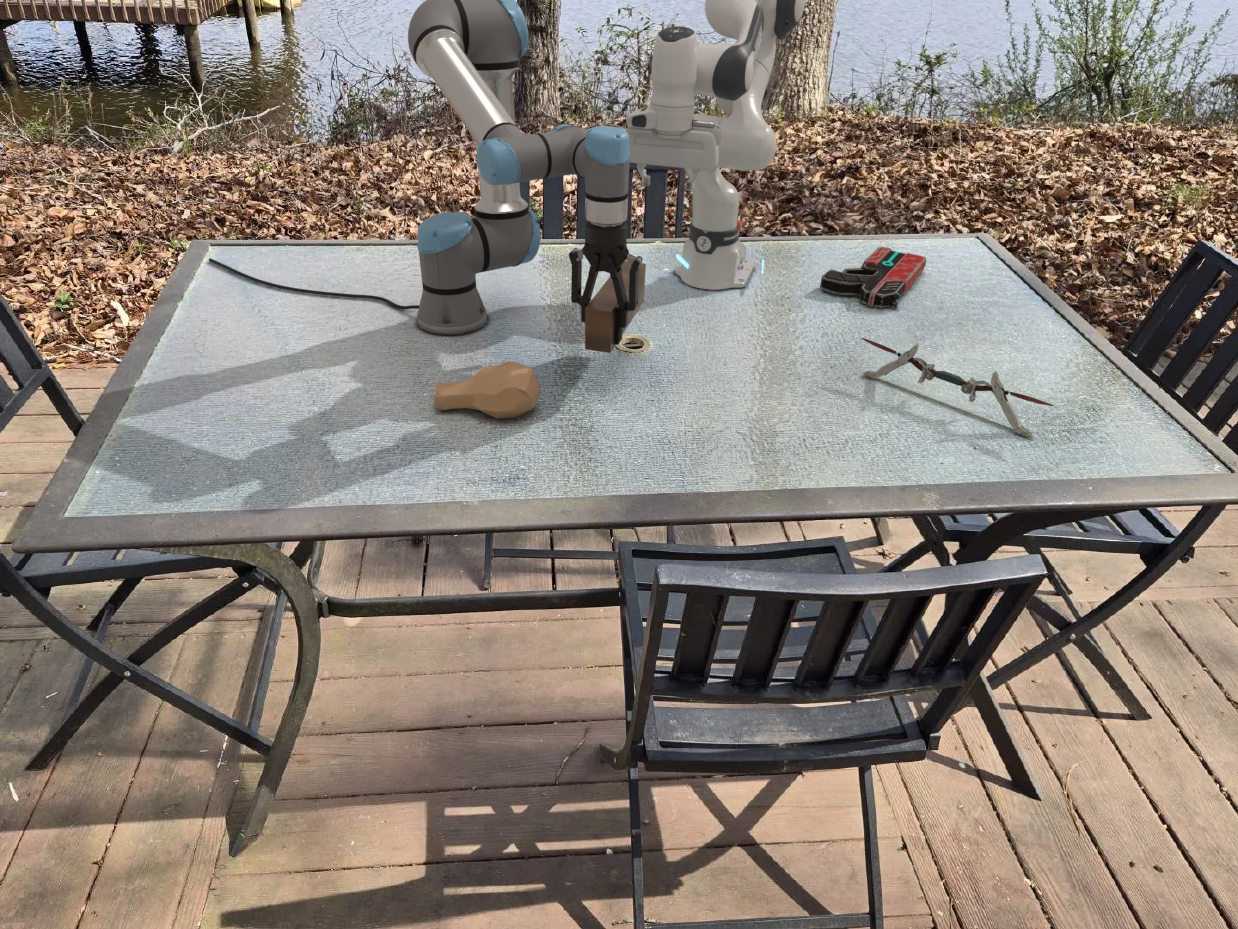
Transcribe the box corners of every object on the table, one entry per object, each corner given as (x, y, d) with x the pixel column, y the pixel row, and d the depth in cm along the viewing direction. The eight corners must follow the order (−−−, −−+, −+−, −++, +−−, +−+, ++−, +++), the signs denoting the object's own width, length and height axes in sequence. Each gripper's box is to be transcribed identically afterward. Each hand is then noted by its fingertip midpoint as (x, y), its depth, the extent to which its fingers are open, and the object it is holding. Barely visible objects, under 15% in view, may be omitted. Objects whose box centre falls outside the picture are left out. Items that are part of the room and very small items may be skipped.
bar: (610, 353, 165) (611, 311, 160) (584, 349, 166) (585, 307, 161) (644, 301, 185) (645, 263, 181) (621, 298, 186) (622, 260, 182)
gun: (818, 277, 212) (896, 296, 205) (859, 239, 234) (931, 255, 227) (815, 294, 215) (892, 314, 207) (855, 255, 237) (927, 271, 229)
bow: (1043, 439, 161) (1060, 391, 155) (1040, 443, 160) (1056, 395, 154) (857, 369, 182) (866, 325, 177) (852, 372, 181) (861, 327, 175)
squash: (542, 425, 161) (533, 386, 155) (435, 433, 163) (423, 395, 156) (546, 387, 169) (538, 350, 163) (444, 396, 170) (432, 359, 164)
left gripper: (660, 219, 157) (654, 338, 170) (564, 208, 160) (565, 325, 173) (650, 233, 151) (644, 354, 164) (551, 220, 154) (553, 340, 167)
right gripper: (725, 119, 176) (719, 188, 184) (627, 110, 180) (625, 178, 188) (719, 125, 171) (713, 196, 179) (619, 116, 175) (617, 186, 183)
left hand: (604, 339), depth 168 cm, fingers closed on bar, 5 cm apart
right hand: (667, 187), depth 183 cm, fingers open, 8 cm apart
